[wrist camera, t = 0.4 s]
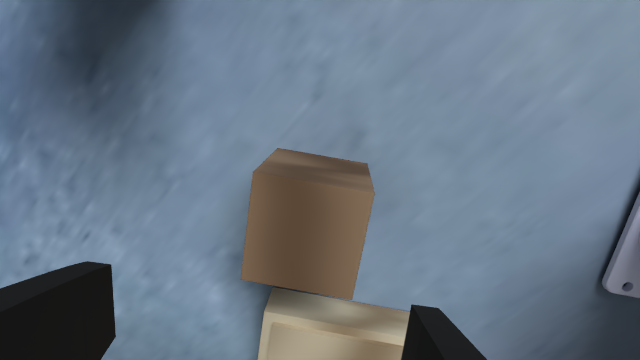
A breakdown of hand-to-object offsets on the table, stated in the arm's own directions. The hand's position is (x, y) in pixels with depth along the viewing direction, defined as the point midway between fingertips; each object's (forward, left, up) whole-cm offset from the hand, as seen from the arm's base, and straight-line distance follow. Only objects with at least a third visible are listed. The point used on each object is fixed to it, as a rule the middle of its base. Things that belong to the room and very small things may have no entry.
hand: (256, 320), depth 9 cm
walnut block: (-1, 0, -10) cm, 10 cm away
